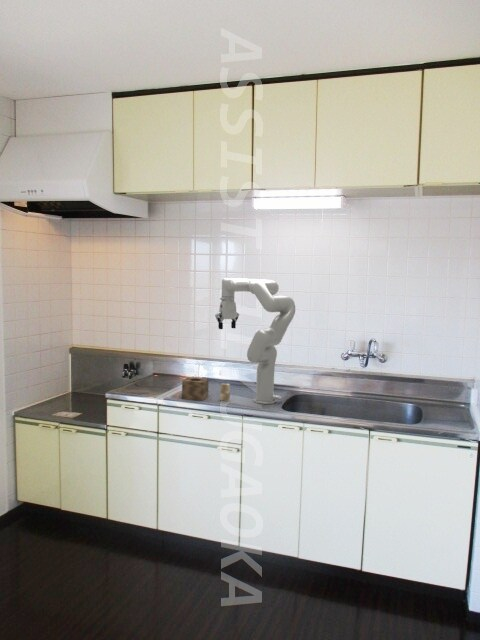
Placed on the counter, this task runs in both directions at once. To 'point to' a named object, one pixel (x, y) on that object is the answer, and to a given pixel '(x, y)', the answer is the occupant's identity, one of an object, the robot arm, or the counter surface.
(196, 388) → the brown block
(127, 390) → the counter surface
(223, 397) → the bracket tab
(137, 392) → the counter surface
